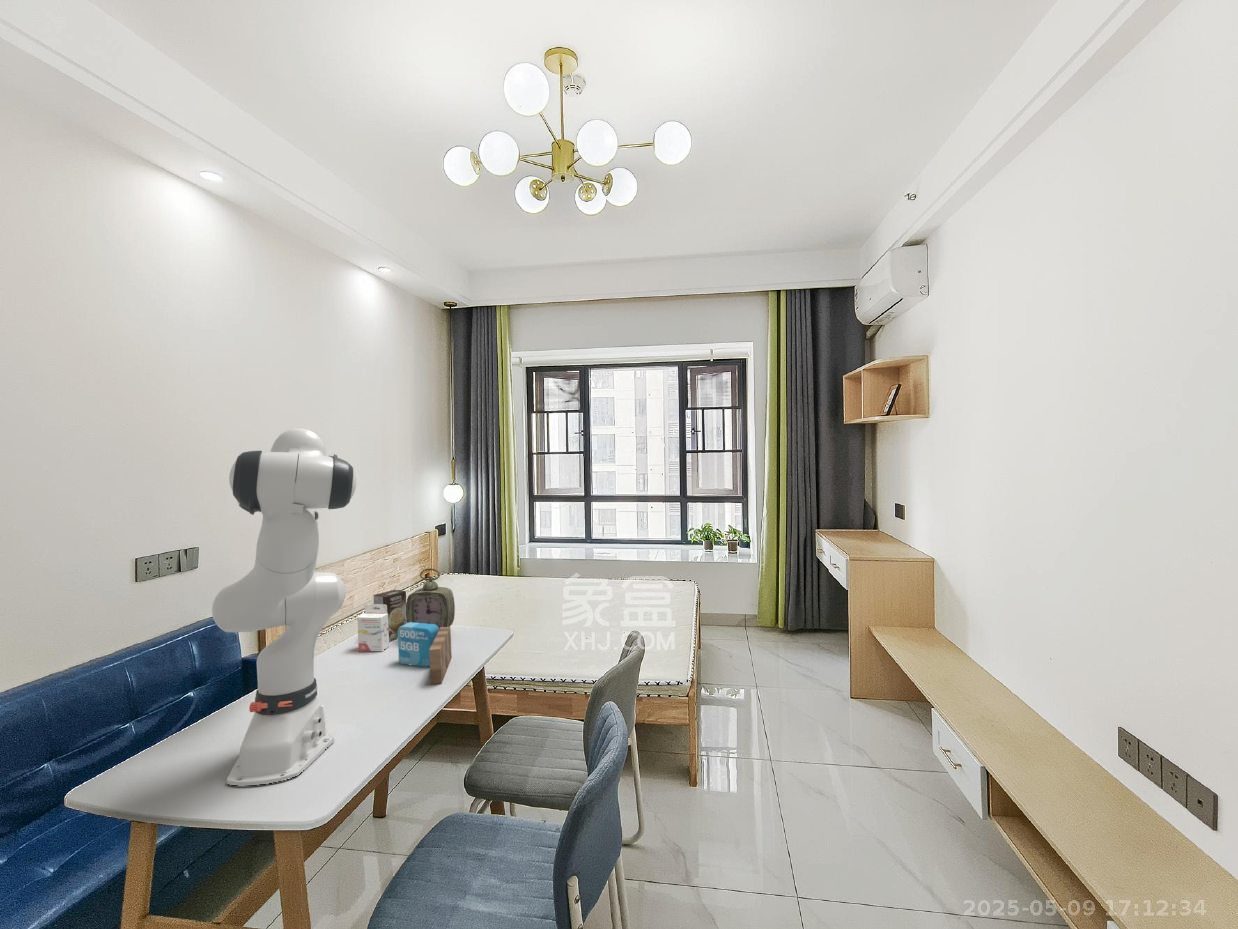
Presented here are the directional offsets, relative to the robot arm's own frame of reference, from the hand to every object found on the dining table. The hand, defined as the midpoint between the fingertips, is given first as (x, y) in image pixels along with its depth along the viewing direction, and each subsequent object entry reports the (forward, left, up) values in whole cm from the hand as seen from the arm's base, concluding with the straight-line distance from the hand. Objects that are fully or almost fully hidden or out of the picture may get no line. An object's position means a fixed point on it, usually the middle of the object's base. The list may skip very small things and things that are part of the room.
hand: (298, 567), depth 159 cm
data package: (+16, -28, -35) cm, 48 cm away
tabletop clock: (+38, -28, -35) cm, 59 cm away
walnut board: (+8, -35, -35) cm, 51 cm away
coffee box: (+43, -13, -35) cm, 57 cm away
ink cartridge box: (+32, -10, -35) cm, 49 cm away
